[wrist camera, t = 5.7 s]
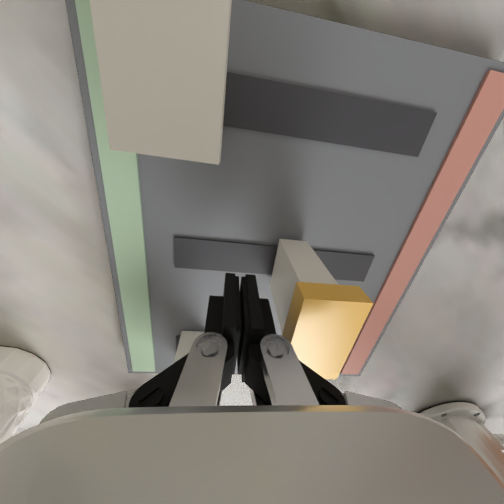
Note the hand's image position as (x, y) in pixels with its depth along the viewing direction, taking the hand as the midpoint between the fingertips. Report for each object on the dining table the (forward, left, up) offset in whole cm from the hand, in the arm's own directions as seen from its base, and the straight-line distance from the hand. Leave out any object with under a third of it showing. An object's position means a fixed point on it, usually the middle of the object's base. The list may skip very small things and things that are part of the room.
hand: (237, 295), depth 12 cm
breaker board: (-3, 0, -6) cm, 7 cm away
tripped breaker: (-4, 0, -4) cm, 6 cm away
